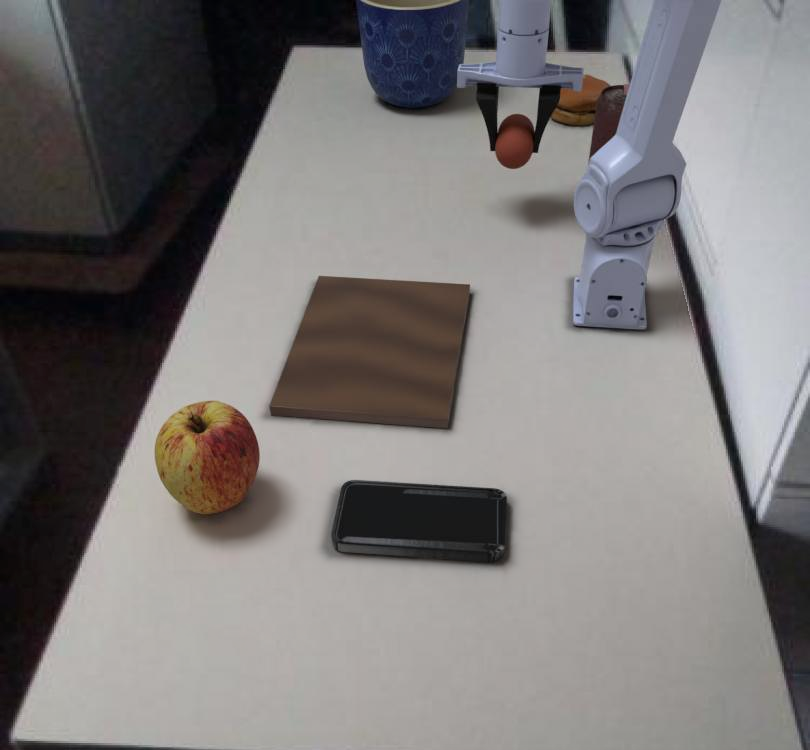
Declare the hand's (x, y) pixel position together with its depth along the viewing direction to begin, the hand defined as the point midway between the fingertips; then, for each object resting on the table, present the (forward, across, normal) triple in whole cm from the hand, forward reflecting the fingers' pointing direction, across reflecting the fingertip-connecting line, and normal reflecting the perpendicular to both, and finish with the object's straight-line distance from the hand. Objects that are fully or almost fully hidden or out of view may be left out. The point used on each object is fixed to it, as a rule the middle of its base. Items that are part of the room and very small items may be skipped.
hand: (514, 148), depth 106 cm
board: (+8, +12, +32) cm, 35 cm away
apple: (+9, +23, +56) cm, 61 cm away
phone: (+8, +4, +56) cm, 57 cm away
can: (+8, -12, -4) cm, 15 cm away
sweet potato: (+1, 0, 0) cm, 1 cm away
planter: (+8, +18, -35) cm, 40 cm away
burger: (+8, -8, -32) cm, 34 cm away
